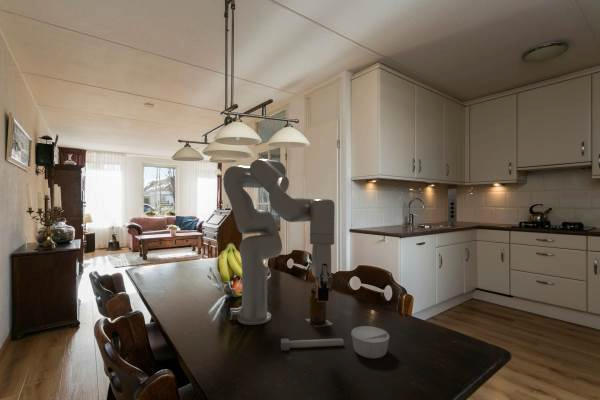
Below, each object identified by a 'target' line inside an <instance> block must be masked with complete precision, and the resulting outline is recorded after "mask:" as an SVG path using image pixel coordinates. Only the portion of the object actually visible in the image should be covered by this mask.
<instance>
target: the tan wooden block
mask: <svg viewBox="0 0 600 400" xmlns="http://www.w3.org/2000/svg"><path fill="white" fill-rule="evenodd" d="M322 280H323V279H321V281H322ZM315 282H316V298H318V287H319V279H316V278H315ZM318 302H326V303H327V302H329V300H328V301H318Z"/></svg>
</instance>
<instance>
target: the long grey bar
mask: <svg viewBox="0 0 600 400" xmlns="http://www.w3.org/2000/svg"><path fill="white" fill-rule="evenodd" d="M344 344H345V343H344V339H343V338H327V339H326V338H324V339H323V338H321V339H300V340H290V339H289V338H280V350H281V351H290V349H297V348H299V349H300V348H315V347H316V348H317V347H318V348H319V347H321V348H322V347H341V346H343V345H344Z"/></svg>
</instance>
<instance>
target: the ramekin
mask: <svg viewBox="0 0 600 400" xmlns="http://www.w3.org/2000/svg"><path fill="white" fill-rule="evenodd" d="M350 333H351V334H350V335H351V338H352V345H353V350H354V351H355V353H357V355H359V356H361V357H364V358H368V359H380V358H383V357H384V356H385V355H386V354H387V351H388V348H389V347H388V346H389V341H390V335H389V333H388V331H386V330H384V329H382V328H380V327H377V326H376V327H375V326H368V325H367V326H366V325H363V326H361V325H360V326H357V327H354V328H353V329H351V332H350Z"/></svg>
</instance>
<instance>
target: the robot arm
mask: <svg viewBox="0 0 600 400" xmlns="http://www.w3.org/2000/svg"><path fill="white" fill-rule="evenodd" d="M286 174H287V170H286V167H285V165H284V164H283V163H282V162H281V161H278V160H272V159H266V158H257V159H256V160H253V161H252V162H251V163H250V165H248V166H247V165H231V166H229V167H228V168H226V170H225V172H224V175H223V181H222V182H223V189H224V192H225V194H226V196H227V198H228V200H229V203H230V206H231V209H232V213H233V216H234V219H235V221H234V222H235V224H236V227H237V230H238V232H240V233H241V234H244V235H249V236H247V237H244V238H243V239H242V240H241V241H240V244H239V246H238V247H239V249H238V250H239V255H240V261H241V306H239V307H237V308H236V307H230V308H229V309H230V310H229V314H232V315H233V316H237V321H238V323H240V324H241V325H242V324H243V325H248V326H256V325H262V324H266V323H268V322H269V321H271V320H272V314H271V312H269V311H268V271H267V268H266V265H265V263H264V262H263V261H264V260H268V259H273V258H276V257H277V258H278V257H279V256H280V255H281V253H282V251H283V242H282V238H281V235H280V232H279V230H278V225H277V222H276V219H275V217H274V215H273V214H272V213H271V211H269V210H266V209H257V208H255V205H254V202H253V199H252V197H251V196H250V194H249V193H248V192H247V191H246V190H245V189H244V188H250V189H251V188H253V189H260V188H261V189H262V188H263V189H264V190H265V191H266V192H267V193H268V200H269V204H270V206H271V208H272V210H274V212H275V213H276V214H277V215H278V216H279V217H280V218H281V219H282V220H284V221H286V222H289V223H299V222H301V223H302V222H303V223H304V222H309V244H310V245H312V249H311V265H310V266H311V273H312V276H313V277H314V278H315V280H316V279H319V287H318V301H328V302H329V293H330V292H329V291H330V289H329V279H330V278H331V276H332V245H335V209H336V208H335V202H334V201H333V199H328V198H327V199H326V198H322V199H321V198H317V199H316V198H315V199H314V198H299V197H296V198H295V197H292V196H290V195H289V194H287V190H288V188H289V187H290V180H289V178H288V177H287V176H286ZM252 234H253V235H252ZM258 234H259V235H258ZM321 279H323V280H322V281H321ZM314 288H315V295H316V281H315V283H314Z"/></svg>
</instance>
